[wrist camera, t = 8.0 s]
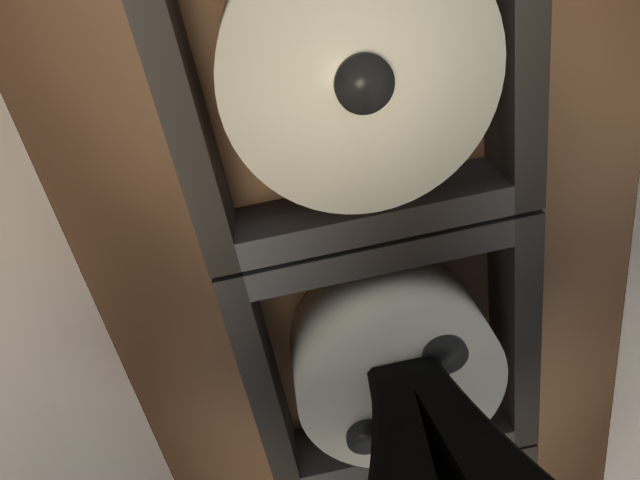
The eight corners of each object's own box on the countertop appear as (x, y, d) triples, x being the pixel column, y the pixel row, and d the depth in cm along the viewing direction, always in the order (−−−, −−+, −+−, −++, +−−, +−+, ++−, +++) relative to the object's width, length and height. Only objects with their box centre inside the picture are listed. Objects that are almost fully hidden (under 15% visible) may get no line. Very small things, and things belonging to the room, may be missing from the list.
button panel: (233, 553, 20) (233, 664, 17) (-35, -103, 10) (-145, -109, 7) (567, 479, 21) (623, 576, 18) (617, -228, 11) (767, -283, 8)
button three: (307, 419, 15) (317, 492, 13) (271, 276, 13) (277, 339, 11) (477, 382, 15) (511, 450, 13) (470, 234, 13) (510, 289, 11)
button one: (249, 189, 12) (251, 243, 10) (187, -58, 9) (174, -51, 7) (467, 144, 12) (511, 188, 10) (455, -110, 9) (509, -115, 8)
